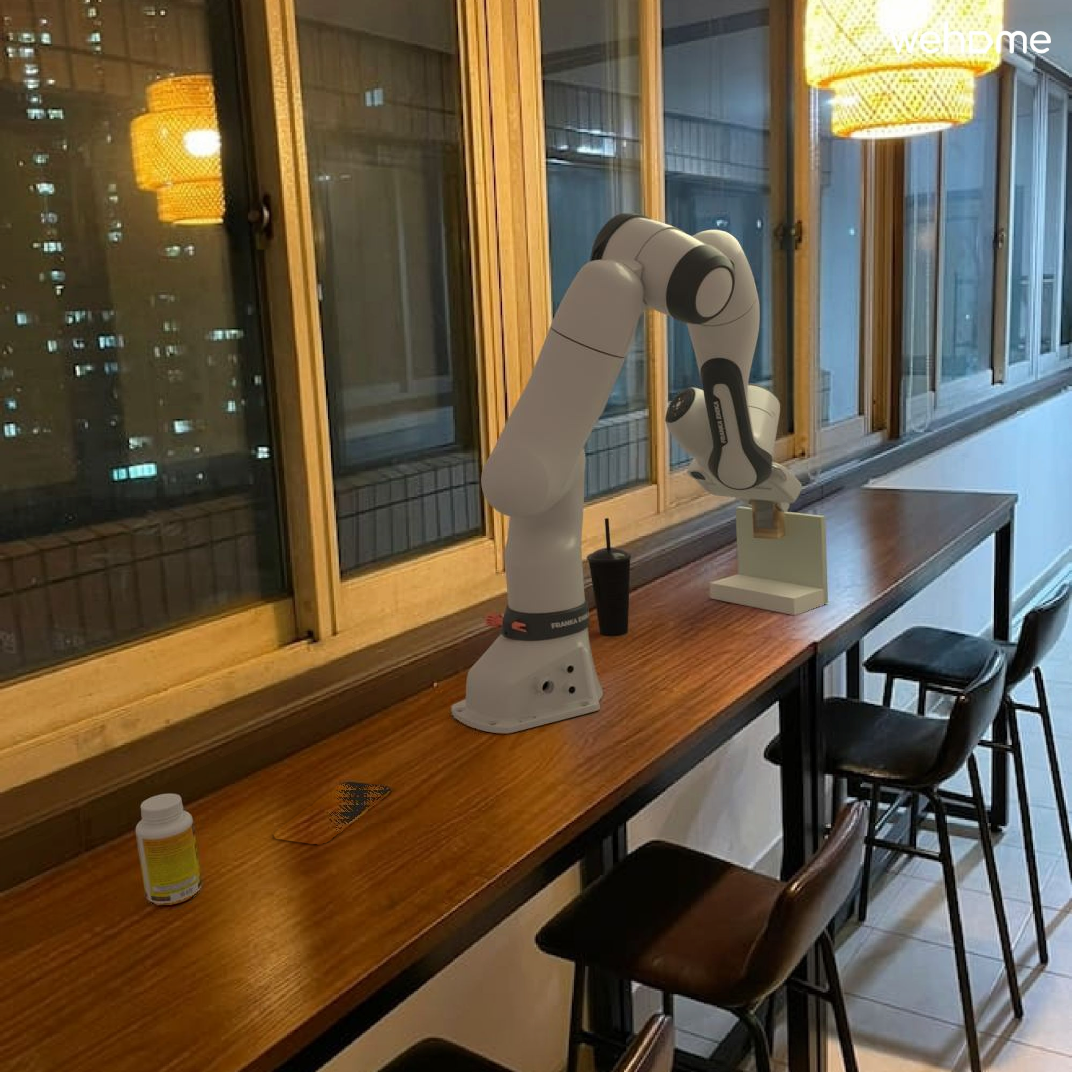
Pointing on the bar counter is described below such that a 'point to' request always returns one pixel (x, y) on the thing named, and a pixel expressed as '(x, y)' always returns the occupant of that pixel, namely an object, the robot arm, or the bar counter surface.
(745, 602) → the cream l-shaped bookend
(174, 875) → the supplement bottle
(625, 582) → the drinking cup
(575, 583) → the robot arm
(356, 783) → the phone
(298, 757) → the bar counter surface
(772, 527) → the small box
